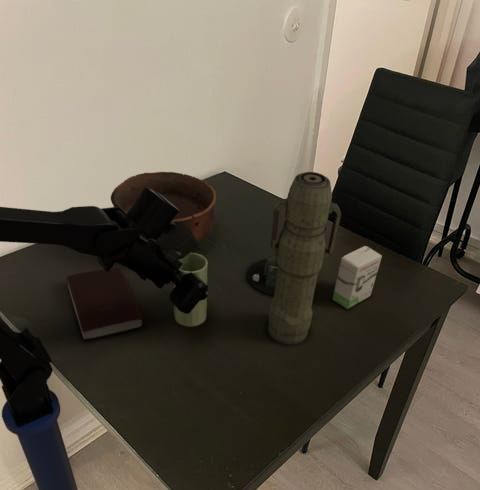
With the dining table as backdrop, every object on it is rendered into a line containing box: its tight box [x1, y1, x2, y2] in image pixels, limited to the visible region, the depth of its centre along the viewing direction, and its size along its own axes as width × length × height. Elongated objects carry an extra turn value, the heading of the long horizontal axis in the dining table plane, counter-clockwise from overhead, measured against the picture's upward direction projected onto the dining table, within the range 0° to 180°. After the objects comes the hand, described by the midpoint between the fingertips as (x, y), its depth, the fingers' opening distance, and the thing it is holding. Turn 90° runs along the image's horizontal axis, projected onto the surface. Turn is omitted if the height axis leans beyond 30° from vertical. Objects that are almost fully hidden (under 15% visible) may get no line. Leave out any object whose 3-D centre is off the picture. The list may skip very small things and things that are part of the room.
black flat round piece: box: [247, 253, 278, 297], centre depth 121 cm, size 15×15×6 cm
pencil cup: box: [172, 252, 209, 327], centre depth 97 cm, size 6×6×13 cm
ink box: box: [332, 245, 383, 310], centre depth 114 cm, size 9×5×12 cm, turn 130°
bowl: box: [110, 171, 218, 244], centre depth 124 cm, size 25×25×15 cm
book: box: [66, 266, 144, 342], centre depth 110 cm, size 12×19×3 cm, turn 23°
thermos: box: [267, 171, 342, 345], centre depth 97 cm, size 9×12×35 cm
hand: (196, 287), depth 97 cm, fingers closed on pencil cup, 6 cm apart
